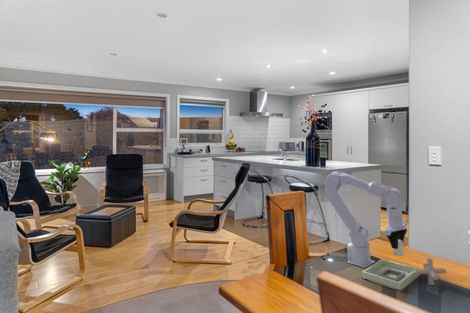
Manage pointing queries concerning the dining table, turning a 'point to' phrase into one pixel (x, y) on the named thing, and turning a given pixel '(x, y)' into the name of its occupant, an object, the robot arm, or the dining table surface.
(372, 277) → the walled box
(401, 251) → the pvc coupling
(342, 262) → the dining table surface
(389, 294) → the dining table surface
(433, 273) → the grey toy jack
